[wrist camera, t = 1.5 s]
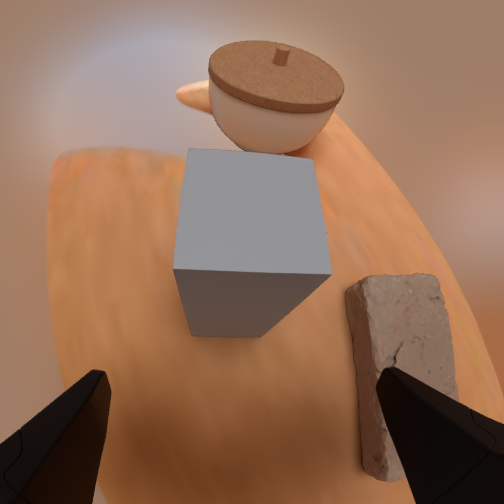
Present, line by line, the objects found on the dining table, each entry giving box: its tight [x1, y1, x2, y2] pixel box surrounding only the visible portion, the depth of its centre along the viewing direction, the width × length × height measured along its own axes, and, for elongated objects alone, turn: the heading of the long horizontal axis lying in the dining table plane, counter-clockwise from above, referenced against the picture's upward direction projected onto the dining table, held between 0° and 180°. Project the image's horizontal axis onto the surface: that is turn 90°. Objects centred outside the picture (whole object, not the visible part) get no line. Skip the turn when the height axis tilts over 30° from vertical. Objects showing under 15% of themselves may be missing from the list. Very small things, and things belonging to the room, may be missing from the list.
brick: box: [345, 273, 459, 482], centre depth 19 cm, size 17×8×5 cm, turn 4°
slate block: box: [173, 148, 332, 337], centre depth 16 cm, size 5×5×13 cm
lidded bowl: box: [208, 41, 344, 155], centre depth 25 cm, size 13×13×11 cm
